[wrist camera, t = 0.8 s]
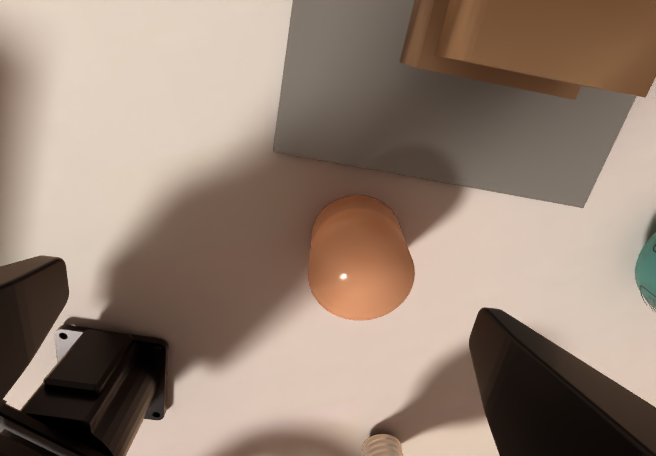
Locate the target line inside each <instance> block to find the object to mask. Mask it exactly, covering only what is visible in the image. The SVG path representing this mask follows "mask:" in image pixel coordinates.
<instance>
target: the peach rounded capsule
mask: <svg viewBox="0 0 656 456" xmlns="http://www.w3.org/2000/svg"><path fill="white" fill-rule="evenodd" d="M414 276H415V271H414V264H413V260H412V258H411V255H410V252H409V250H408V247H407V244H406V242H405V239H404V236H403V234H402V231H401V228H400V226H399V223H398V221H397V218H396V217H395V215H394V213H393V212H392V211H391V209H390V208H388V207H387V206H386V205H385V204H384V203H382V202H380V201H379V200H377V199H374V198H371V197H367V196H361V195H353V196H347V197H343V198H340V199H338V200H335V201H334V202H332V203H330V204H329V205H328V206H326V207H325V208H324V209H323V210H322V211H321V212H320V214H319V215H318V217H317V218H316V220H315V223H314V225H313V229H312V238H311V250H310V261H309V272H308V280H309V285H310V289H311V292H312V294H313V295H314V297H315V299H316V300H317V301H318V303H319V304H320V305H321V306H322V307H323V308H325V309H326V310H327V311H329V312H331V313H332V314H334V315H336V316H339V317H342V318H345V319H350V320H370V319H374V318H378V317H381V316H384V315H386V314H388V313H390V312H391V311H393V310H394V309H396V308H397V307H398V306H399V305H400V304H401V303H402V302H403V301H404V300H405V299H406V298H407V296H408V294H409V293H410V291H411V288H412V286H413V282H414Z"/></svg>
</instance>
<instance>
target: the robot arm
mask: <svg viewBox="0 0 656 456" xmlns="http://www.w3.org/2000/svg"><path fill="white" fill-rule="evenodd" d="M68 297H69V287H68V279H67V271H66V265H65V262H64V260H63V259H61V258H59V257H51V256H37V257H33V258H30V259H26V260H23V261H19V262H15V263H12V264H8V265H5V266H1V267H0V456H126V454H127V452H128V450H129V448H130V446H131V444H132V442H133V440H134V438H135V436H136V434H137V432H138V430H139V427H140V425H141V423H142V421H143V419H151V420H161V419H162V418H163V417H164V415H165V413H166V399H167V369H168V344H167V342H166V341H164V340H163V339H158V338H151V337H145V336H138V335H131V334H124V333H117V332H110V331H103V330H96V329H90V328H83V327H76V326H69V325H62V326H60V327H59V329H58V330H57V331H56V332H55V343H56V353H57V362H58V363H57V364H56V366H55V367H54V368H53V369H52V370H51V372H50V373H49V374H48V375H47V376H46V377H45V379H44V381H43V383H42V385H41V386H40V387H39V388H38V389H37V391H36V392H35V393H34V394H33V395H32V397H31V398H30V399H29V400H28V401H27V403H26V404H25V405H24V406H23V407H22V409H21V410H18V409H16V408H14V407H12V406H10V405H8V404H6V402H7V401H5V400H3V398H4V397H5V395H6V394H7V393H8V391H9V390H10V389H11V388H12V386H13V385H14V384H15V382H16V381H17V380H18V378H19V377H20V376H21V374H22V373H23V372H24V370H25V369H26V367H27V366H28V365H29V363H30V362H31V360H32V359H33V357H34V356H35V354H36V353H37V351H38V349H39V348H40V346H41V344H42V343H43V341H44V339H45V338H46V336H47V334H48V333H49V331H50V329H51V328H52V326H53V324H54V323H55V321H56V320H57V318H58V316H59V315H60V313H61V311H62V310H63V308H64V306H65V305H66V303H67V300H68ZM64 333H65V334H67V335H65V334H64ZM156 346H158V347H160V348H157V347H156ZM469 348H470V353H471V357H472V361H473V366H474V370H475V374H476V379H477V383H478V387H479V392H480V396H481V400H482V404H483V408H484V411H485V414H486V417H487V420H488V423H489V426H490V429H491V432H492V435H493V438H494V440H495V443H496V446H497V449H498V452H499V455H500V456H656V407H654V406H652V405H651V404H649V403H648V402H646V401H645V400H643V399H641V398H640V397H638V396H637V395H635V394H633V393H632V392H630V391H629V390H627V389H626V388H624V387H622V386H621V385H619V384H618V383H616V382H615V381H613V380H611V379H610V378H608V377H607V376H605V375H603V374H602V373H600V372H599V371H597V370H596V369H594V368H592V367H591V366H589V365H588V364H586V363H584V362H583V361H581V360H580V359H578V358H577V357H575V356H573V355H572V354H570V353H569V352H567V351H566V350H564V349H562V348H561V347H559V346H558V345H556V344H554V343H553V342H551V341H550V340H548V339H547V338H545V337H543V336H542V335H540V334H539V333H537V332H535V331H534V330H532V329H531V328H529V327H528V326H526V325H524V324H523V323H521V322H520V321H518V320H516V319H515V318H513V317H512V316H510V315H509V314H507V313H505V312H504V311H502V310H500V309H494V308H482V309H480V311H479V312H478V314H477V317H476V320H475V323H474V326H473V329H472V332H471V335H470V339H469Z"/></svg>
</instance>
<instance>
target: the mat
mask: <svg viewBox="0 0 656 456" xmlns="http://www.w3.org/2000/svg"><path fill="white" fill-rule="evenodd" d="M413 4H414V0H293V4H292V11H291V19H290V26H289V34H288V41H287V49H286V57H285V64H284V72H283V79H282V87H281V94H280V102H279V109H278V117H277V124H276V132H275V139H274V147H273V152H279V153H284V154H290V155H295V156H301V157H306V158H312V159H317V160H323V161H328V162H334V163H339V164H345V165H350V166H356V167H361V168H367V169H372V170H378V171H383V172H389V173H394V174H399V175H405V176H410V177H416V178H421V179H427V180H432V181H438V182H443V183H449V184H454V185H460V186H465V187H471V188H476V189H482V190H487V191H493V192H498V193H504V194H509V195H515V196H520V197H525V198H531V199H536V200H542V201H547V202H553V203H558V204H564V205H569V206H575V207H580V208H583V207H584V205H585V203H586V201H587V199H588V197H589V195H590V193H591V191H592V188H593V186H594V184H595V182H596V180H597V178H598V176H599V174H600V172H601V169H602V167H603V165H604V163H605V161H606V159H607V157H608V155H609V153H610V150H611V148H612V146H613V144H614V142H615V140H616V138H617V136H618V134H619V132H620V129H621V127H622V125H623V123H624V121H625V119H626V117H627V115H628V113H629V110H630V108H631V106H632V104H633V102H634V100H635V98H636V96H635V95H630V94H624V93H619V92H613V91H608V90H602V89H597V88H591V87H586V86H581V88H580V90H579V93H578V95H577V98H576V100H572V99H568V98H563V97H558V96H553V95H548V94H543V93H538V92H533V91H528V90H523V89H518V88H513V87H508V86H503V85H499V84H494V83H489V82H484V81H479V80H474V79H469V78H464V77H459V76H454V75H449V74H444V73H439V72H434V71H430V70H425V69H420V68H416V67H412V66H409V65H406V64H403V63H400V58H401V54H402V50H403V46H404V41H405V37H406V33H407V29H408V25H409V21H410V16H411V12H412V8H413Z"/></svg>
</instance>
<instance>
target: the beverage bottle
mask: <svg viewBox="0 0 656 456" xmlns="http://www.w3.org/2000/svg"><path fill="white" fill-rule="evenodd" d="M635 279H636V283H637V286H638V288H639V290H640V292H641V296H642V295H643V296H644V298H645V299H646V301H647V302H648V303H649V304H650V305H651V306H653V307H654V308H655V309H656V232H655V233H654V234H653V235H652V236H651V238H650V239H649V240H648V241H647V242H646V244H645V245H644V247H643V249H642V250H641V252H640V254H639V257H638V260H637V263H636V267H635ZM642 298H643V297H642ZM643 300H644V299H643ZM644 302H645V301H644ZM646 305H647V304H646ZM647 306H648V305H647ZM651 306H650V307H651ZM655 309H654V311H655ZM652 311H653V310H652ZM655 312H656V311H655Z"/></svg>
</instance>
